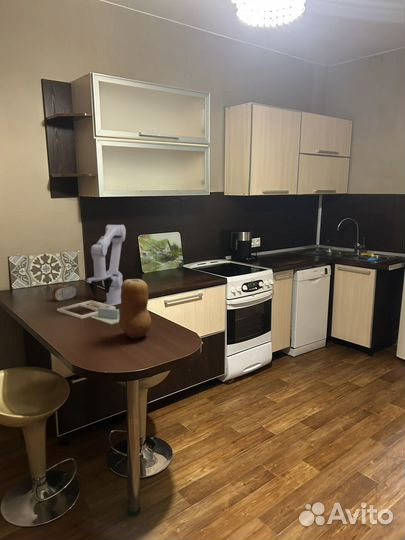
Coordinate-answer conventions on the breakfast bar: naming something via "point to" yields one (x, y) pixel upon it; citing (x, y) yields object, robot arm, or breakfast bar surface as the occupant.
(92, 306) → the offcut upper
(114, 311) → the grey rectangular block
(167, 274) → the breakfast bar surface
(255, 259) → the breakfast bar surface
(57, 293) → the tin
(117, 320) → the mat
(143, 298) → the butternut squash
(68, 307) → the rack
